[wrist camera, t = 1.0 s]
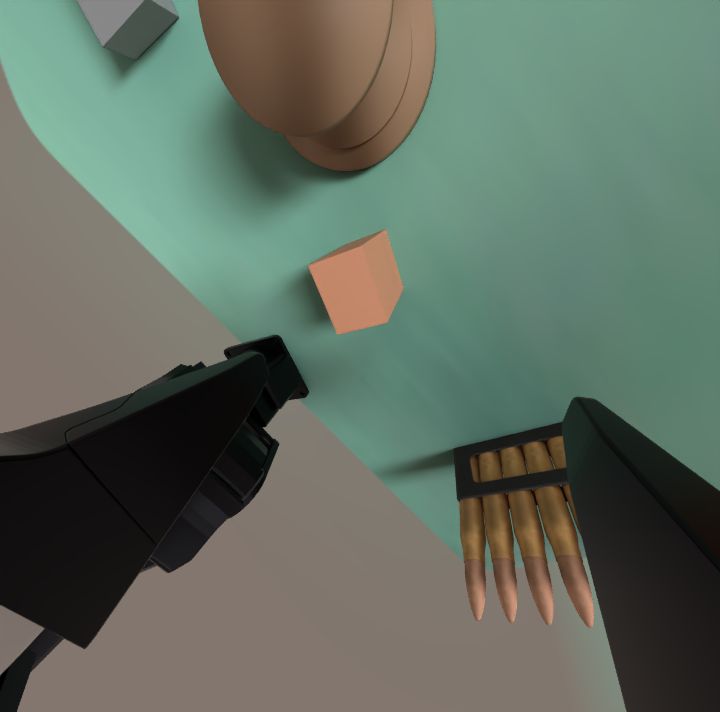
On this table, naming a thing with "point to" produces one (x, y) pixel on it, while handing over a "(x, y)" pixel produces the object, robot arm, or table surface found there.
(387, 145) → the brown door knob
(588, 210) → the table surface
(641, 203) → the table surface
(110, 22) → the notched board
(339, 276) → the tab
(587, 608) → the ammunition clip
